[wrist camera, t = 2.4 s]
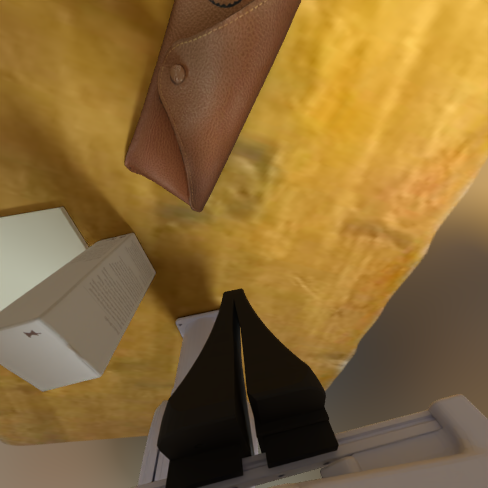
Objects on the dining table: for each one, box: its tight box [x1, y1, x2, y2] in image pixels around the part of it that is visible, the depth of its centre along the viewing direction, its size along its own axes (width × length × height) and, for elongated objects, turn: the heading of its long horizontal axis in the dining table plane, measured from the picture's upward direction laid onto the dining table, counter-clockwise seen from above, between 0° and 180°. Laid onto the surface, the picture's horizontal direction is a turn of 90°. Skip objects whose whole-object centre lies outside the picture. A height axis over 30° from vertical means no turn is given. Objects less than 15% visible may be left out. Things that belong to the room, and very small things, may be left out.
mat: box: [0, 207, 89, 311], centre depth 20 cm, size 14×14×1 cm
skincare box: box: [0, 233, 156, 391], centre depth 16 cm, size 6×4×12 cm
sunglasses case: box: [125, 0, 301, 212], centre depth 15 cm, size 18×7×7 cm, turn 151°
